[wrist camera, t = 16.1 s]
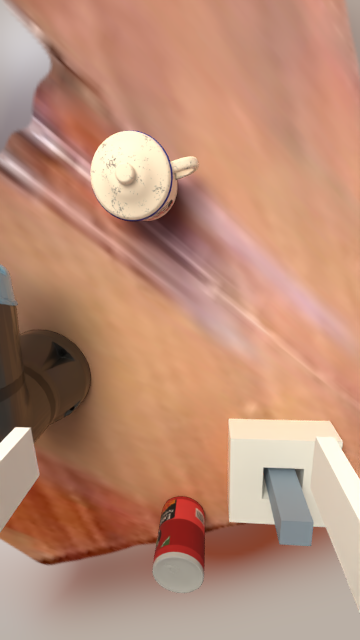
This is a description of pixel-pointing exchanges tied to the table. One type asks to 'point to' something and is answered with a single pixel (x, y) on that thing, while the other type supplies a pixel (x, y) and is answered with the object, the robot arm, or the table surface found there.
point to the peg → (288, 507)
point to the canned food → (180, 546)
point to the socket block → (270, 463)
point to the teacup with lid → (137, 176)
